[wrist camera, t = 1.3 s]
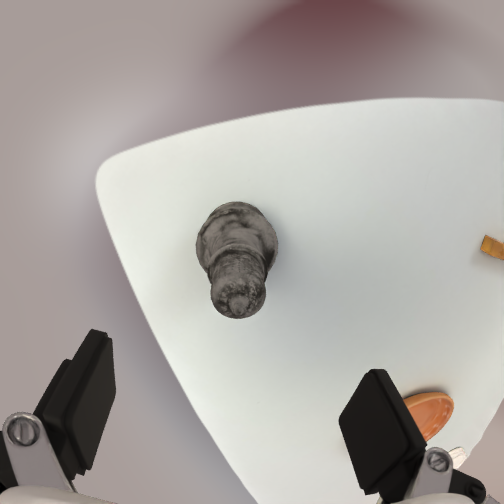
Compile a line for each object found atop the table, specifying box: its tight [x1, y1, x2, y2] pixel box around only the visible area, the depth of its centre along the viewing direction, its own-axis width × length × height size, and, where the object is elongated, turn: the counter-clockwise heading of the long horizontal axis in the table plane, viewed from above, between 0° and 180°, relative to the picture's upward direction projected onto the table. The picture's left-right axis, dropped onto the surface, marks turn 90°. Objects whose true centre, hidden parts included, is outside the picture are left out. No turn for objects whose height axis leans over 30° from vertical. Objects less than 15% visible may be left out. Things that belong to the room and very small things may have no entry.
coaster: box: [448, 448, 467, 469], centre depth 47 cm, size 10×10×4 cm
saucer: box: [403, 392, 454, 442], centre depth 36 cm, size 16×16×3 cm
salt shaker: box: [196, 202, 278, 319], centre depth 20 cm, size 6×6×12 cm
